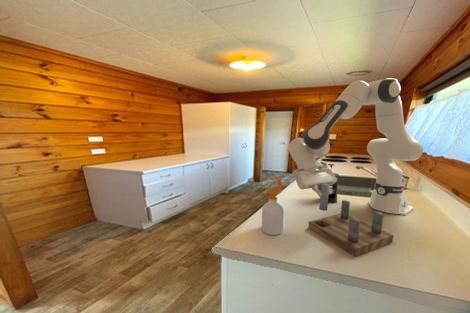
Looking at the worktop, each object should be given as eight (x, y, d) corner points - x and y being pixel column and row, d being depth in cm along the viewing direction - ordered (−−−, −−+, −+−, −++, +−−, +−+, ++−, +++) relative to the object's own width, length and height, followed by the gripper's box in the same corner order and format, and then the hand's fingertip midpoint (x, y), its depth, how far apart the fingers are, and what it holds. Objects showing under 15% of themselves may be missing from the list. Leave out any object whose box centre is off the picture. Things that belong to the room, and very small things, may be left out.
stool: (342, 218, 97) (343, 197, 96) (392, 242, 77) (395, 215, 76) (308, 227, 88) (309, 204, 87) (355, 256, 68) (358, 227, 67)
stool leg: (322, 207, 87) (324, 183, 86) (329, 210, 84) (330, 185, 83) (317, 208, 86) (319, 184, 84) (323, 211, 83) (325, 186, 81)
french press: (330, 204, 116) (333, 166, 113) (316, 199, 124) (319, 163, 121) (342, 201, 122) (345, 164, 119) (328, 196, 130) (330, 162, 126)
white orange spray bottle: (259, 225, 90) (260, 173, 87) (279, 224, 91) (280, 173, 88) (264, 236, 81) (265, 178, 78) (285, 235, 82) (288, 177, 79)
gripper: (295, 165, 84) (311, 194, 77) (329, 162, 93) (346, 188, 85) (288, 173, 89) (302, 201, 82) (321, 170, 97) (337, 195, 90)
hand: (325, 195), depth 83 cm, fingers closed on stool leg, 3 cm apart
